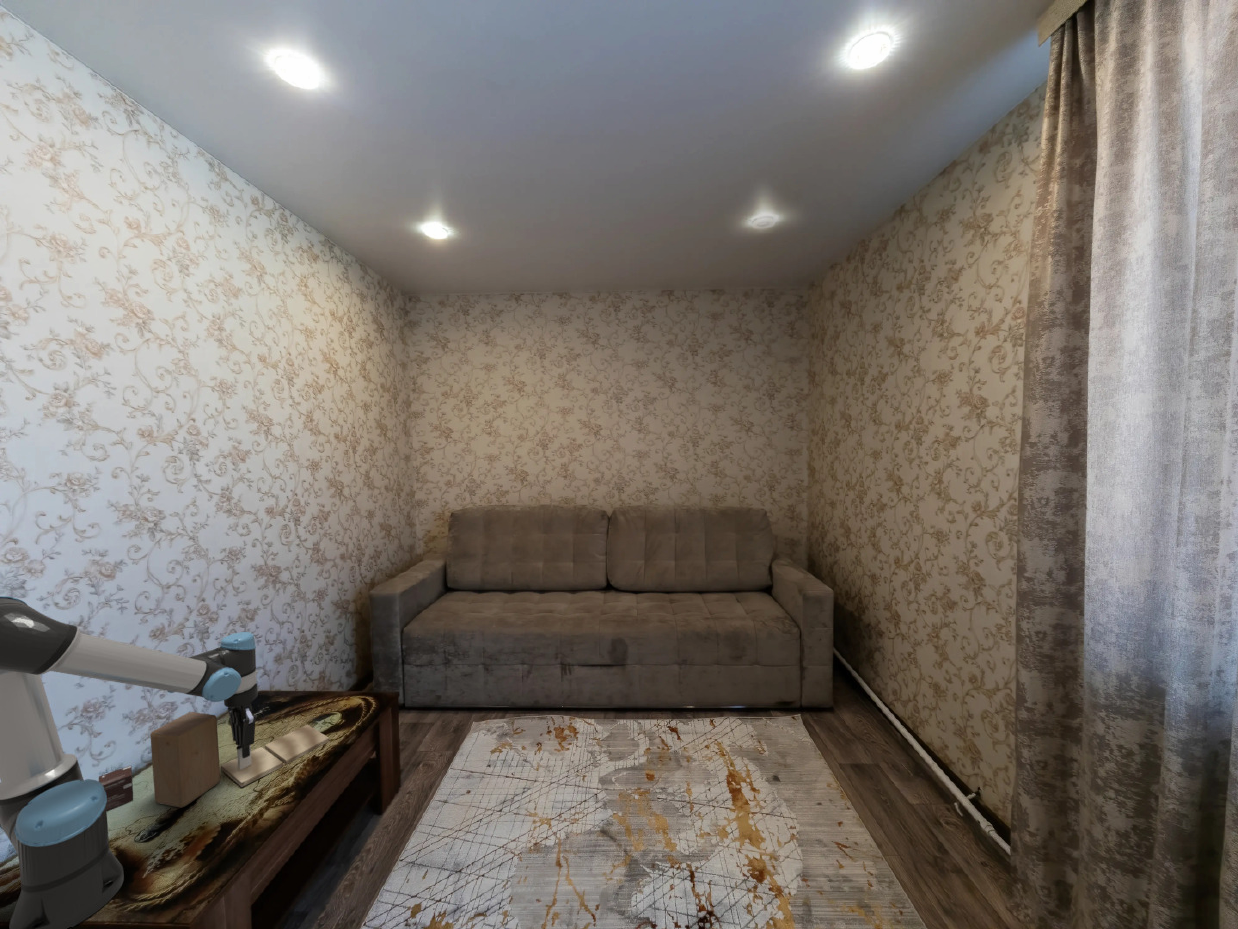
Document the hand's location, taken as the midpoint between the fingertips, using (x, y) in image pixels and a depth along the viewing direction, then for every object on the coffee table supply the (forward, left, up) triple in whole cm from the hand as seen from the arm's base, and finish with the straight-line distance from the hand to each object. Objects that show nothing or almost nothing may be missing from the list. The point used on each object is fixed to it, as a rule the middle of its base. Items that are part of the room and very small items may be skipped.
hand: (244, 766), depth 133 cm
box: (-22, +17, -2) cm, 28 cm away
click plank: (+2, 0, -2) cm, 2 cm away
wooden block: (-11, +4, -2) cm, 12 cm away
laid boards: (+14, 0, -2) cm, 14 cm away
